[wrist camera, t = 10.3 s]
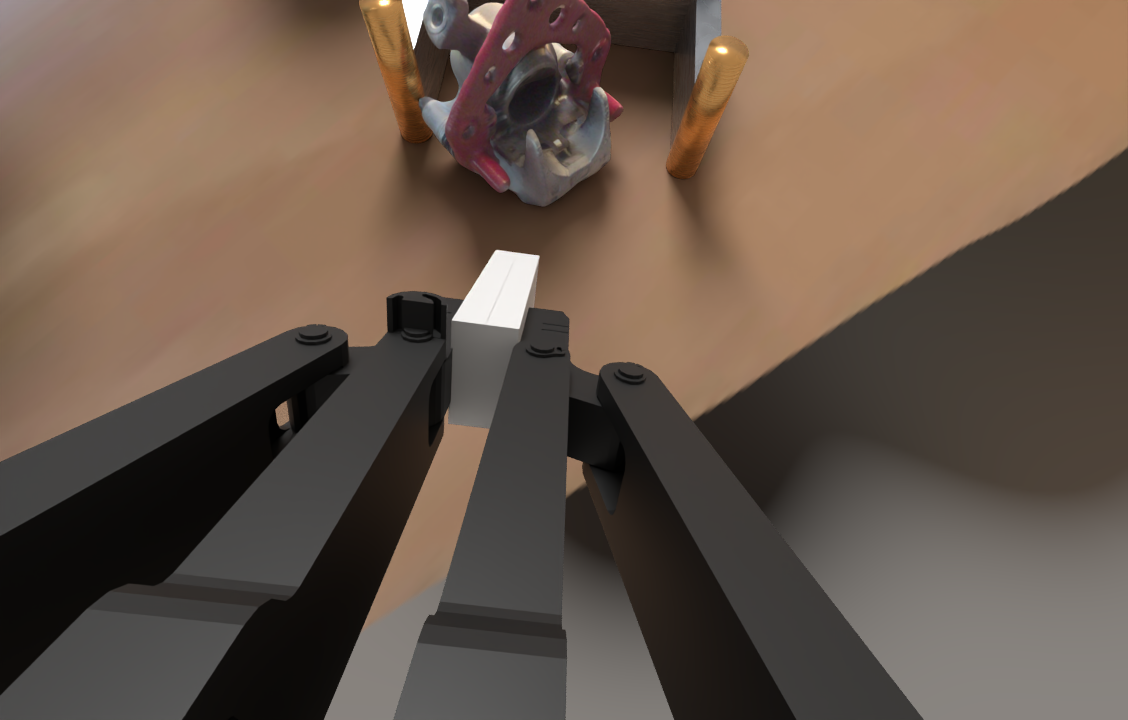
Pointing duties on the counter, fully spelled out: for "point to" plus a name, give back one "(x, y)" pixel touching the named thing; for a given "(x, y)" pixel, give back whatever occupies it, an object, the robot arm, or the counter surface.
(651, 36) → the bracket
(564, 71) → the brake caliper
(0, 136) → the counter surface
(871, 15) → the counter surface
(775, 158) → the counter surface
